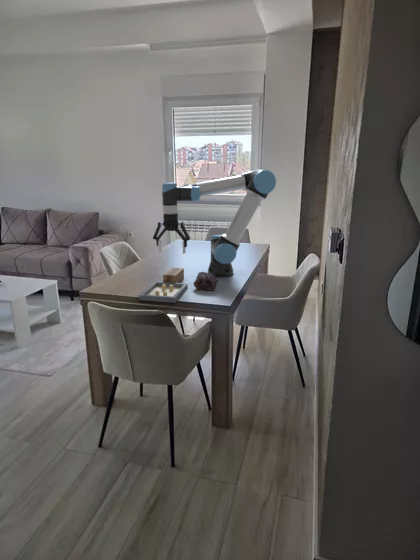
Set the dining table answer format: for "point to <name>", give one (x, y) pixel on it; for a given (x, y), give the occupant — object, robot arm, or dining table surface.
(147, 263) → the dining table surface
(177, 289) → the grey shallow tray
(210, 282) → the rock
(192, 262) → the dining table surface
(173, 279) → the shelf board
